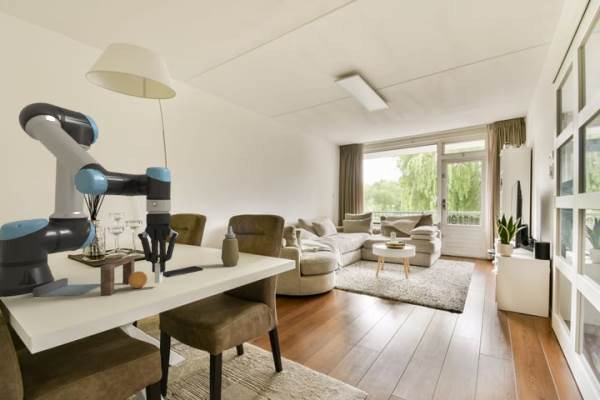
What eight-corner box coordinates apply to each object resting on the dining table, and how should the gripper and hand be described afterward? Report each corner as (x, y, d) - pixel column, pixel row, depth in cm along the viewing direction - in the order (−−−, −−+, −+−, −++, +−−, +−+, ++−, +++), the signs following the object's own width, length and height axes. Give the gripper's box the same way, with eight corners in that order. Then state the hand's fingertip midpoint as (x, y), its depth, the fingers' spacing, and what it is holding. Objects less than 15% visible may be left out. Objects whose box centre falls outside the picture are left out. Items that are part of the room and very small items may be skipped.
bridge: (100, 295, 86) (100, 265, 86) (125, 282, 101) (125, 257, 101) (110, 295, 86) (110, 265, 87) (134, 282, 101) (134, 256, 101)
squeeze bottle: (237, 267, 123) (236, 226, 123) (218, 267, 123) (218, 226, 123) (241, 263, 131) (240, 225, 131) (224, 263, 131) (223, 225, 132)
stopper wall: (33, 296, 86) (33, 288, 86) (62, 285, 98) (62, 278, 98) (38, 296, 86) (38, 288, 86) (67, 285, 98) (67, 278, 98)
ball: (144, 274, 92) (141, 291, 92) (151, 270, 97) (148, 286, 97) (126, 272, 91) (123, 289, 91) (134, 268, 97) (132, 284, 96)
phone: (204, 268, 119) (168, 275, 107) (204, 271, 119) (168, 278, 107) (194, 265, 124) (159, 272, 113) (194, 268, 124) (159, 275, 113)
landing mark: (40, 296, 86) (40, 295, 86) (68, 285, 98) (68, 284, 98) (81, 295, 87) (81, 294, 87) (104, 284, 99) (104, 283, 99)
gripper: (133, 213, 91) (133, 285, 90) (174, 212, 92) (174, 284, 92) (144, 212, 98) (144, 279, 98) (182, 212, 99) (182, 278, 99)
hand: (158, 281), depth 95 cm, fingers closed
